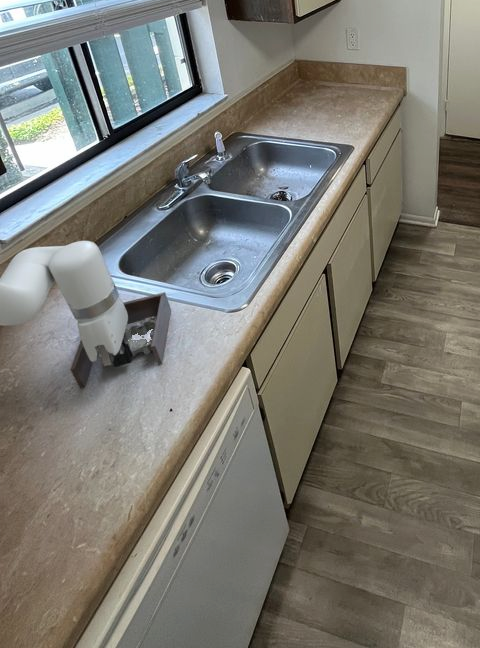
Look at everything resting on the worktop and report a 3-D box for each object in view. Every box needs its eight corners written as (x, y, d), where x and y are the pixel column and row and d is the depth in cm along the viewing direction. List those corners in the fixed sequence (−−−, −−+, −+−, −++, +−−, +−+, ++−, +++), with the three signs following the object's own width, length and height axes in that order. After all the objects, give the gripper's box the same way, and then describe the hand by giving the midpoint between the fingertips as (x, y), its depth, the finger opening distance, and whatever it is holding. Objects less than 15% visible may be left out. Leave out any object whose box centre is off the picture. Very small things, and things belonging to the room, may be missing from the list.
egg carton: (162, 326, 102) (157, 313, 100) (156, 354, 95) (151, 342, 94) (110, 339, 99) (105, 326, 97) (100, 369, 93) (94, 356, 91)
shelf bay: (80, 388, 89) (70, 369, 86) (99, 328, 102) (91, 310, 99) (162, 364, 93) (155, 345, 91) (171, 309, 106) (165, 291, 103)
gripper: (84, 276, 89) (113, 337, 97) (57, 339, 76) (93, 402, 84) (125, 267, 91) (150, 326, 99) (106, 326, 78) (136, 389, 86)
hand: (124, 361), depth 92 cm, fingers closed
